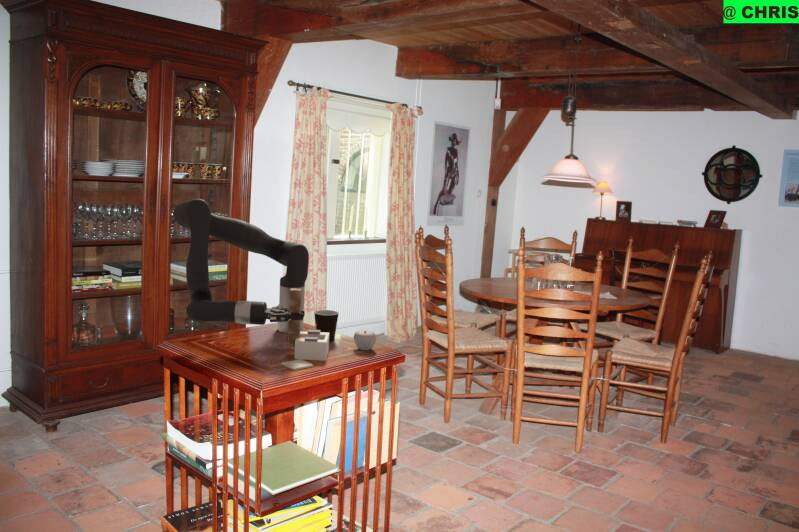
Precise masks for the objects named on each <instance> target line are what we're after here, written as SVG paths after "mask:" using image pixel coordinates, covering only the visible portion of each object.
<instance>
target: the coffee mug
mask: <svg viewBox="0 0 799 532" xmlns="http://www.w3.org/2000/svg"><path fill="white" fill-rule="evenodd" d="M338 319H339V312H338V311H335V310H331V309H318V310H315V311H314V323H315V324H314V325H315V330H321V332H327V333H329V343H331V342H334V341H335V338H336V331H337V326H338Z"/></svg>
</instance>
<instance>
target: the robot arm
mask: <svg viewBox="0 0 799 532" xmlns="http://www.w3.org/2000/svg"><path fill="white" fill-rule="evenodd" d="M172 213H173V218H174V220H175V221H176V223H177V224H178V225H179V226H181V227H182V228H184V229H187V230H189V232H190V243H189V250H188V255H187V258H186V262H185V263H186V264H185V275H186V287H187V290H188V291H189V293H190V299H191V301H190V302H189V303H188V305H187V306H186V309H185V313H186V316H187V317H188V318H189V319H190V320H191V321H193V322H198V323H209V322H221V323H223V322H224V323H236V324H243V325H259V326H260V325H261V326H263V325H265V324H266V321H267V320H269V322H270V323H277V328H276V329H277V330H278V332H279V333H283V334H288V324H289V321H290V320H301V323H300V331H304V320H305V319H304V317H305V313H306V312H305V292H306V291H305V290H306V289H305V287H306V281H307V278H308V273H309V262H310V256H309V255H310V253H309V250H308V248H307V247H306V246H305V245H304V244H303V243H302V244H301V243H297V242H293V241H286V240H283V239H280V238H276V237H274V236H271V235H270V234H269V233H267V232H265V230H263V229H262V228H260V227H258V226H256V225H255V224H251V223H249V222H247V221H245V220H242V219H238V218H232V217H226V216H223V215H217V214H214V213H212V211H211V208H210V205H209V203H208V202H206V200H204V199H202V198H193V199H192V198H191V199H188V200H183V201H181V202H180V203H178V204H177V205H175V207H174V209H173V212H172ZM210 236H211V237H213V238H215V239H216V240H217V239H218V240H220V241H222V242H224V243H227V244H230V245H232V246H234V247H235V248H239V249H241V250H243V251H247V252H250V253H254V254H257V255H258V254H259V255H262V256H265V257H267V258H270V259H272V260H274V261H275V262H277V263H278V264H280V265H282V266H283V267H286V271H285V272H286V273H285V275H284V276H282V277H280V279H279V300H278V305H276V306H272V307H268V305H267V302H266V301H255V300H254V301H253V300H240V301H239V300H221V301H217V300H215V301H213V298H212V297H213V296H212V292H211V289H210V273H209V270H210V269H209V242H210ZM291 288H296V289H302V298H301V313H292V314H291V312H289V297H290V289H291Z"/></svg>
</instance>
